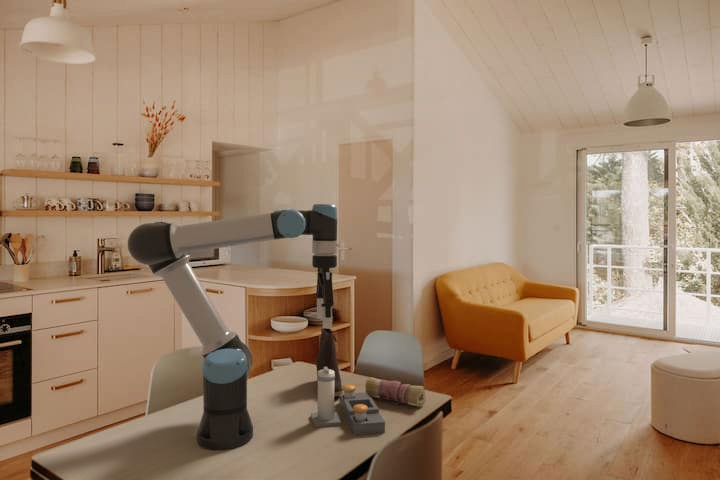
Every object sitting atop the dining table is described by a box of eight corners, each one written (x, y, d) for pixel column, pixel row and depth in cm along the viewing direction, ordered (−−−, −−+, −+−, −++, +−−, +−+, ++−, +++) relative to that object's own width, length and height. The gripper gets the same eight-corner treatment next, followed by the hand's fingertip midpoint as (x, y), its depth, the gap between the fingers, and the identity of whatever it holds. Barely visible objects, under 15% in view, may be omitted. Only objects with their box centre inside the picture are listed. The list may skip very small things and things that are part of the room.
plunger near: (354, 426, 142) (354, 410, 142) (351, 420, 146) (351, 404, 146) (368, 425, 143) (369, 409, 143) (365, 419, 147) (365, 403, 147)
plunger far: (343, 404, 159) (343, 389, 159) (341, 399, 163) (341, 385, 163) (356, 403, 160) (356, 388, 160) (354, 398, 164) (354, 384, 164)
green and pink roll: (429, 398, 166) (376, 387, 176) (426, 380, 163) (372, 370, 173) (421, 414, 160) (366, 402, 170) (417, 397, 157) (362, 385, 167)
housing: (354, 434, 141) (354, 420, 141) (339, 403, 164) (339, 391, 164) (384, 432, 143) (385, 418, 143) (366, 401, 166) (366, 389, 166)
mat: (314, 427, 146) (314, 423, 146) (311, 416, 153) (311, 413, 153) (341, 425, 147) (341, 421, 147) (336, 414, 155) (336, 411, 155)
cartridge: (335, 420, 148) (336, 370, 147) (318, 421, 147) (318, 371, 146) (332, 413, 153) (333, 365, 153) (316, 414, 152) (316, 366, 151)
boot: (320, 402, 165) (321, 342, 164) (310, 378, 188) (310, 326, 187) (346, 400, 167) (347, 341, 166) (333, 377, 190) (333, 325, 189)
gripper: (344, 258, 141) (343, 331, 142) (330, 251, 166) (330, 314, 167) (317, 258, 140) (317, 333, 141) (308, 251, 164) (307, 315, 165)
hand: (324, 323), depth 154 cm, fingers open, 13 cm apart
